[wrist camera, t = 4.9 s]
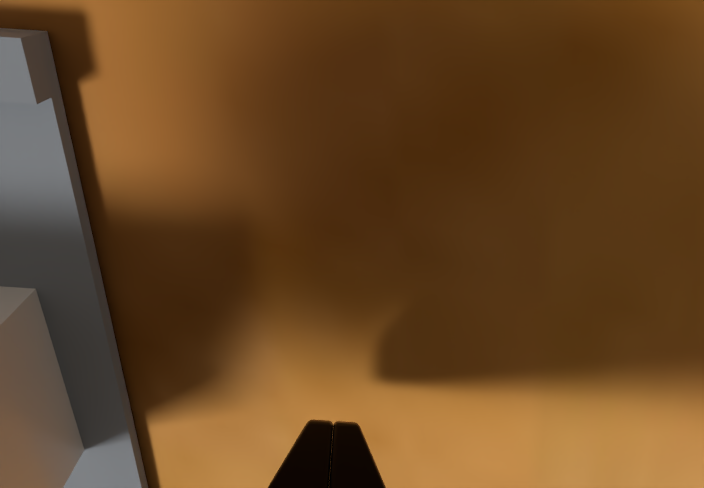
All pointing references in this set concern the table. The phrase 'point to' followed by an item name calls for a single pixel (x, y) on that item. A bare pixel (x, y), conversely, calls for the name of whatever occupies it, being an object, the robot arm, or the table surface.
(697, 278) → the table surface
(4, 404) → the cream matte cube
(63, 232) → the rubber tray
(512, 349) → the table surface
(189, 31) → the table surface
